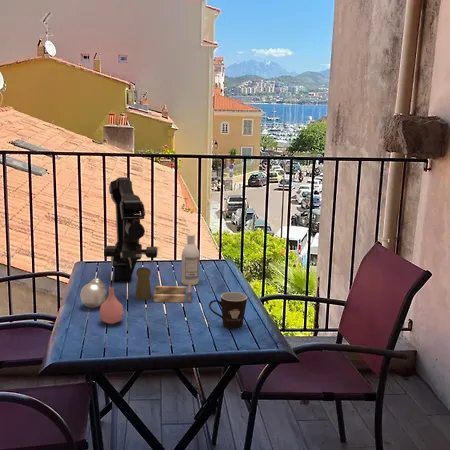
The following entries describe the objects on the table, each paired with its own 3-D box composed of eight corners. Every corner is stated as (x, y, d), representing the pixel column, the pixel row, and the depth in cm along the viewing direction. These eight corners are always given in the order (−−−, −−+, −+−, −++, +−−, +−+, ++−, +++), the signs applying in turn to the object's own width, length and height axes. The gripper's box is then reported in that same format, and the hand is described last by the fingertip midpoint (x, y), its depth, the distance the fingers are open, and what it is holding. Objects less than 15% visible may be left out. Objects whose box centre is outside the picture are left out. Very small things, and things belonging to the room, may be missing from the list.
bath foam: (202, 283, 224) (203, 235, 220) (187, 286, 220) (189, 237, 216) (191, 279, 230) (193, 231, 225) (177, 282, 225) (178, 233, 221)
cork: (135, 293, 210) (135, 265, 207) (151, 294, 210) (152, 265, 208) (134, 299, 204) (134, 270, 202) (151, 299, 204) (151, 270, 202)
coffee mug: (249, 322, 187) (250, 294, 185) (241, 332, 179) (242, 302, 177) (216, 317, 190) (217, 289, 188) (207, 326, 182) (208, 297, 180)
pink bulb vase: (128, 321, 184) (128, 286, 182) (114, 329, 177) (114, 293, 175) (108, 316, 187) (108, 282, 185) (94, 324, 180) (94, 288, 178)
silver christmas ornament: (111, 308, 194) (111, 281, 192) (84, 313, 189) (84, 285, 187) (103, 300, 202) (102, 274, 199) (77, 304, 197) (76, 277, 195)
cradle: (152, 301, 202) (152, 291, 201) (154, 292, 212) (154, 282, 212) (190, 302, 203) (191, 292, 202) (190, 292, 213) (191, 282, 212)
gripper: (101, 237, 193) (101, 280, 197) (155, 239, 194) (155, 281, 198) (106, 230, 204) (106, 271, 208) (157, 231, 205) (157, 272, 209)
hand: (131, 274), depth 205 cm, fingers closed
